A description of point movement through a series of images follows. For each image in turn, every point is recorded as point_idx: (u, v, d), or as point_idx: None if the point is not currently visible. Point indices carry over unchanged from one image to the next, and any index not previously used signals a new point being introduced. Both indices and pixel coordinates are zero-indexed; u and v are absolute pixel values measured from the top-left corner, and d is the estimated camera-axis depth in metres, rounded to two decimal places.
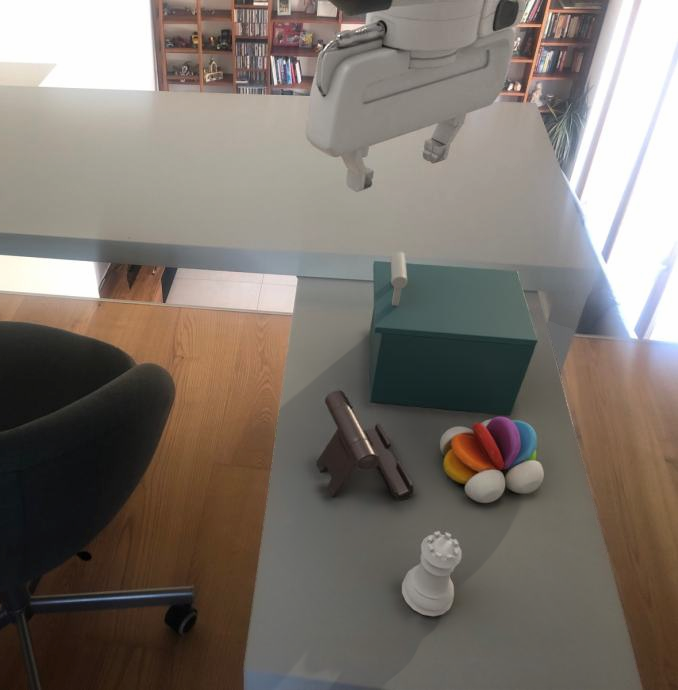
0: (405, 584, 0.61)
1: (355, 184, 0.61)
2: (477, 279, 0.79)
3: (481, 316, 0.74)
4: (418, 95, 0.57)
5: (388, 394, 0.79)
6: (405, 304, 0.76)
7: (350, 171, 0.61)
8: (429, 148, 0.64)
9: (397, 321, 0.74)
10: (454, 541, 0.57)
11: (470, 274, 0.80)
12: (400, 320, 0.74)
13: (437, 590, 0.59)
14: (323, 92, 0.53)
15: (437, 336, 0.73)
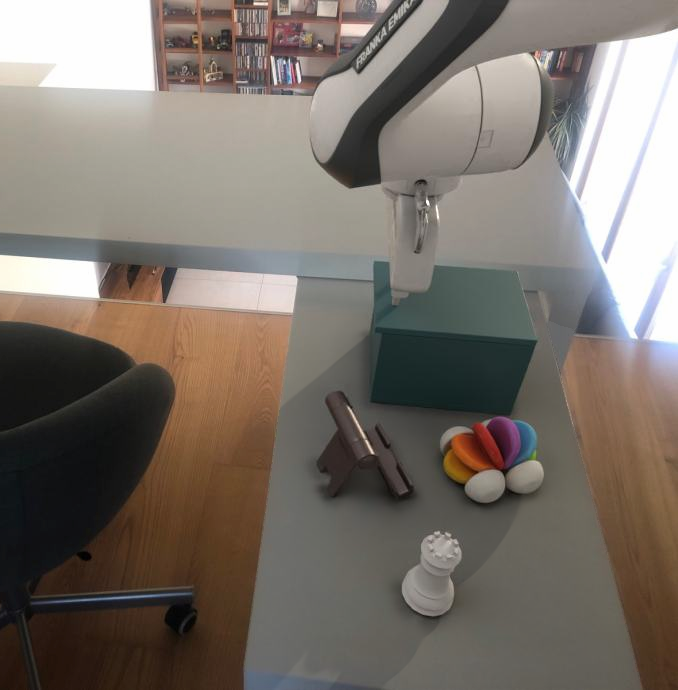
0: (405, 584, 0.61)
1: (403, 293, 0.73)
2: (477, 279, 0.79)
3: (481, 316, 0.74)
4: None
5: (388, 394, 0.79)
6: (405, 303, 0.76)
7: None
8: None
9: (397, 321, 0.74)
10: (454, 541, 0.57)
11: (470, 274, 0.80)
12: (400, 320, 0.74)
13: (437, 590, 0.59)
14: (420, 250, 0.62)
15: (437, 336, 0.73)
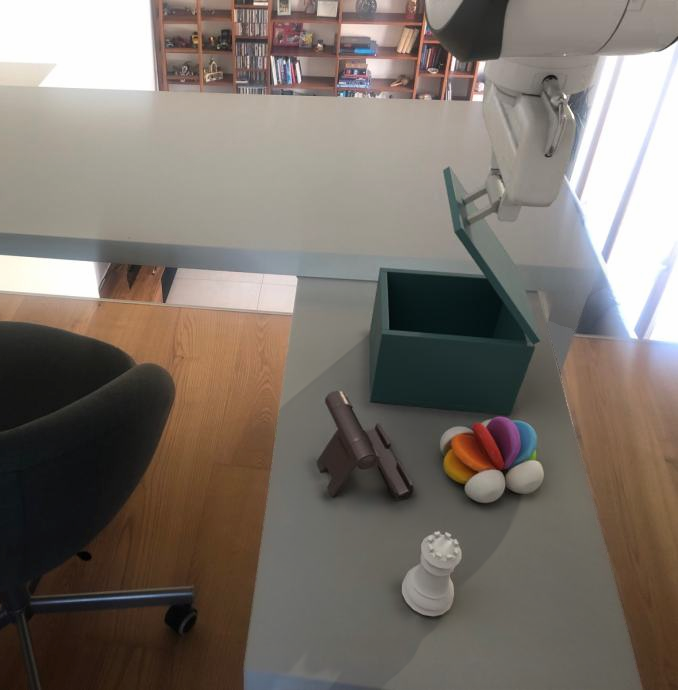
0: (405, 584, 0.61)
1: (511, 216, 0.65)
2: (504, 254, 0.76)
3: (512, 288, 0.71)
4: None
5: (388, 394, 0.79)
6: (473, 228, 0.69)
7: (504, 206, 0.65)
8: None
9: (472, 238, 0.66)
10: (454, 541, 0.57)
11: (499, 245, 0.77)
12: (473, 239, 0.66)
13: (437, 590, 0.59)
14: (552, 153, 0.55)
15: (489, 278, 0.67)
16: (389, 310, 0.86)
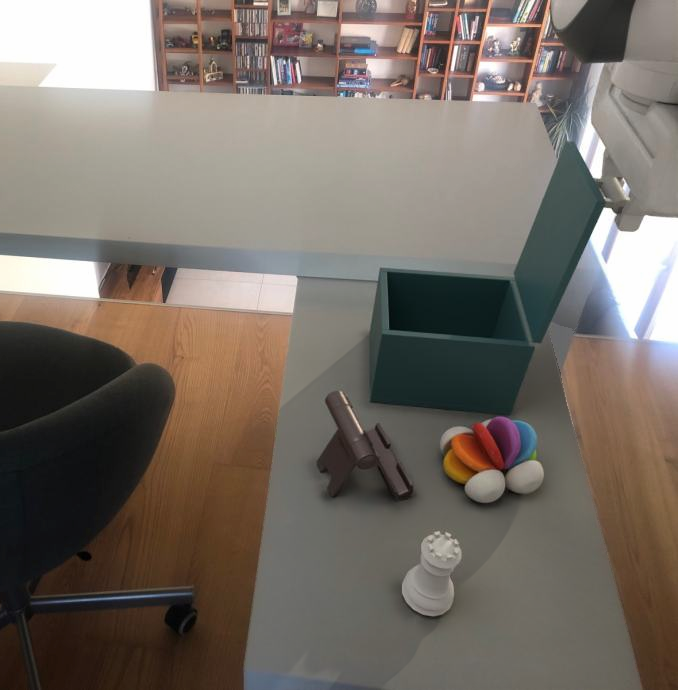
0: (405, 584, 0.61)
1: (632, 225, 0.64)
2: None
3: None
4: None
5: (388, 394, 0.79)
6: None
7: (626, 216, 0.63)
8: None
9: None
10: (454, 541, 0.57)
11: None
12: None
13: (437, 590, 0.59)
14: None
15: (571, 263, 0.65)
16: (389, 310, 0.86)
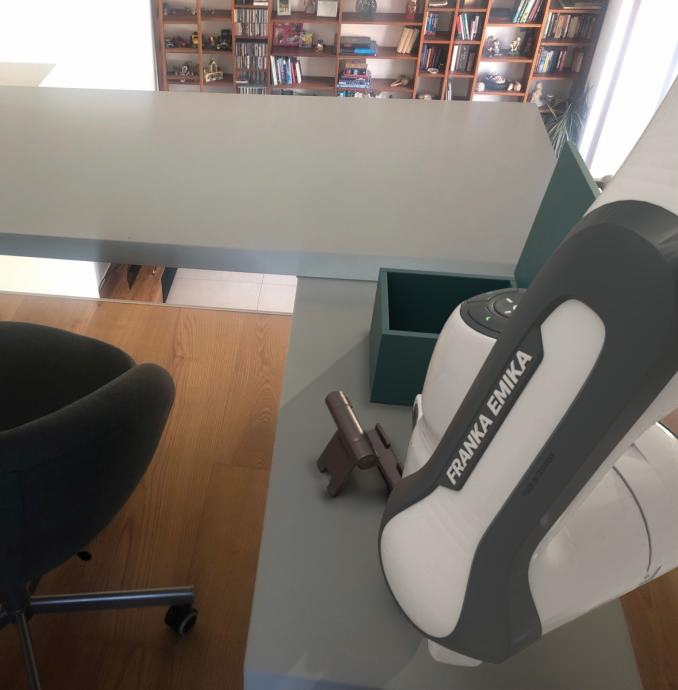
0: None
1: None
2: None
3: None
4: None
5: (388, 394, 0.79)
6: None
7: None
8: None
9: None
10: None
11: None
12: None
13: None
14: None
15: None
16: (389, 310, 0.86)
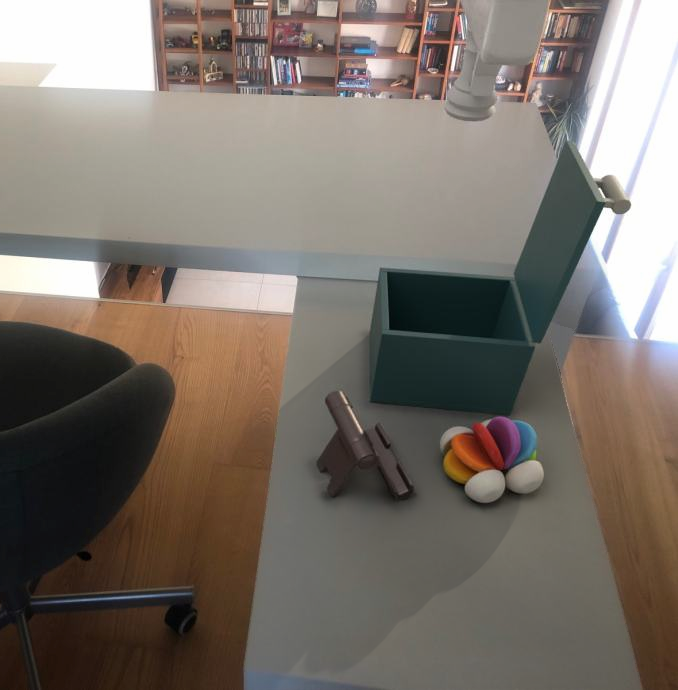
0: (447, 94, 0.60)
1: (485, 88, 0.57)
2: None
3: None
4: None
5: (388, 394, 0.79)
6: None
7: (477, 76, 0.56)
8: None
9: None
10: None
11: None
12: None
13: None
14: None
15: (571, 263, 0.65)
16: (389, 310, 0.86)
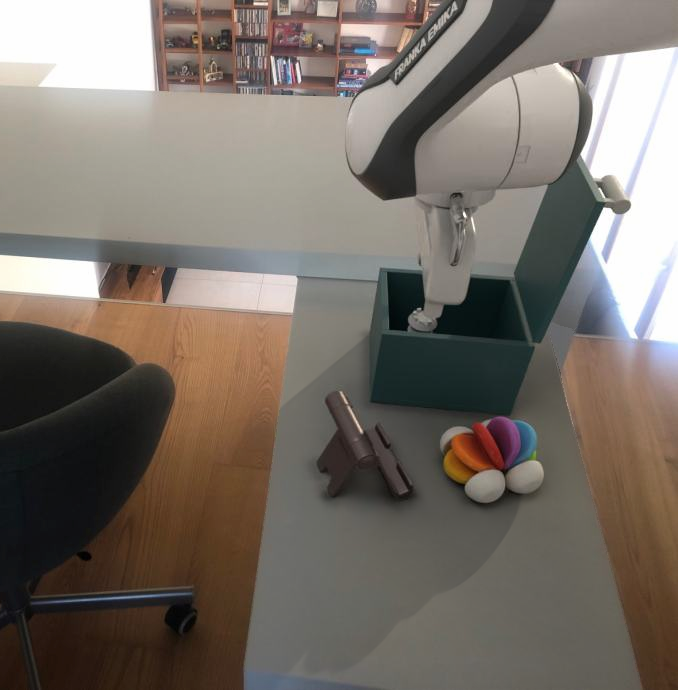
0: None
1: (435, 312, 0.72)
2: None
3: None
4: None
5: (388, 394, 0.79)
6: None
7: (428, 305, 0.71)
8: None
9: None
10: None
11: None
12: None
13: None
14: (457, 263, 0.62)
15: (571, 263, 0.65)
16: (389, 310, 0.86)
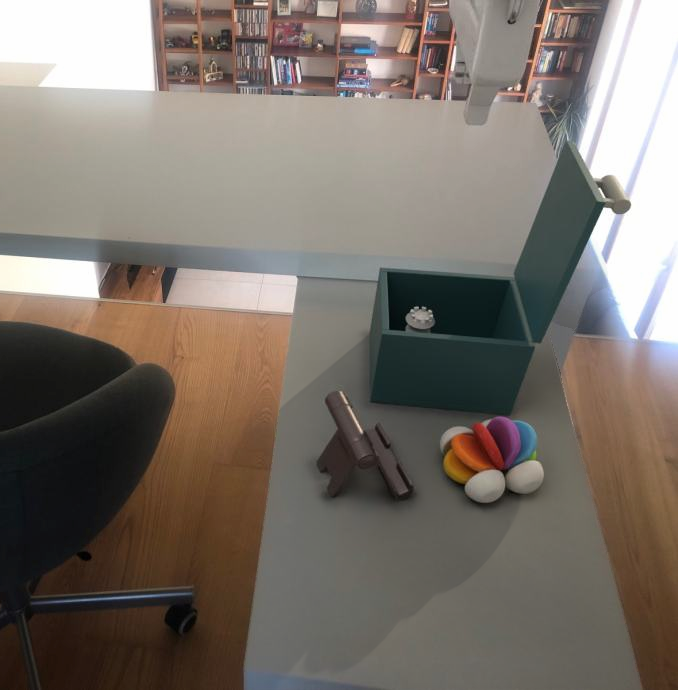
0: None
1: (480, 118, 0.58)
2: None
3: None
4: None
5: (388, 394, 0.79)
6: None
7: (472, 106, 0.58)
8: (463, 71, 0.65)
9: None
10: (429, 311, 0.79)
11: None
12: None
13: None
14: (516, 18, 0.49)
15: (571, 263, 0.65)
16: (389, 310, 0.86)
